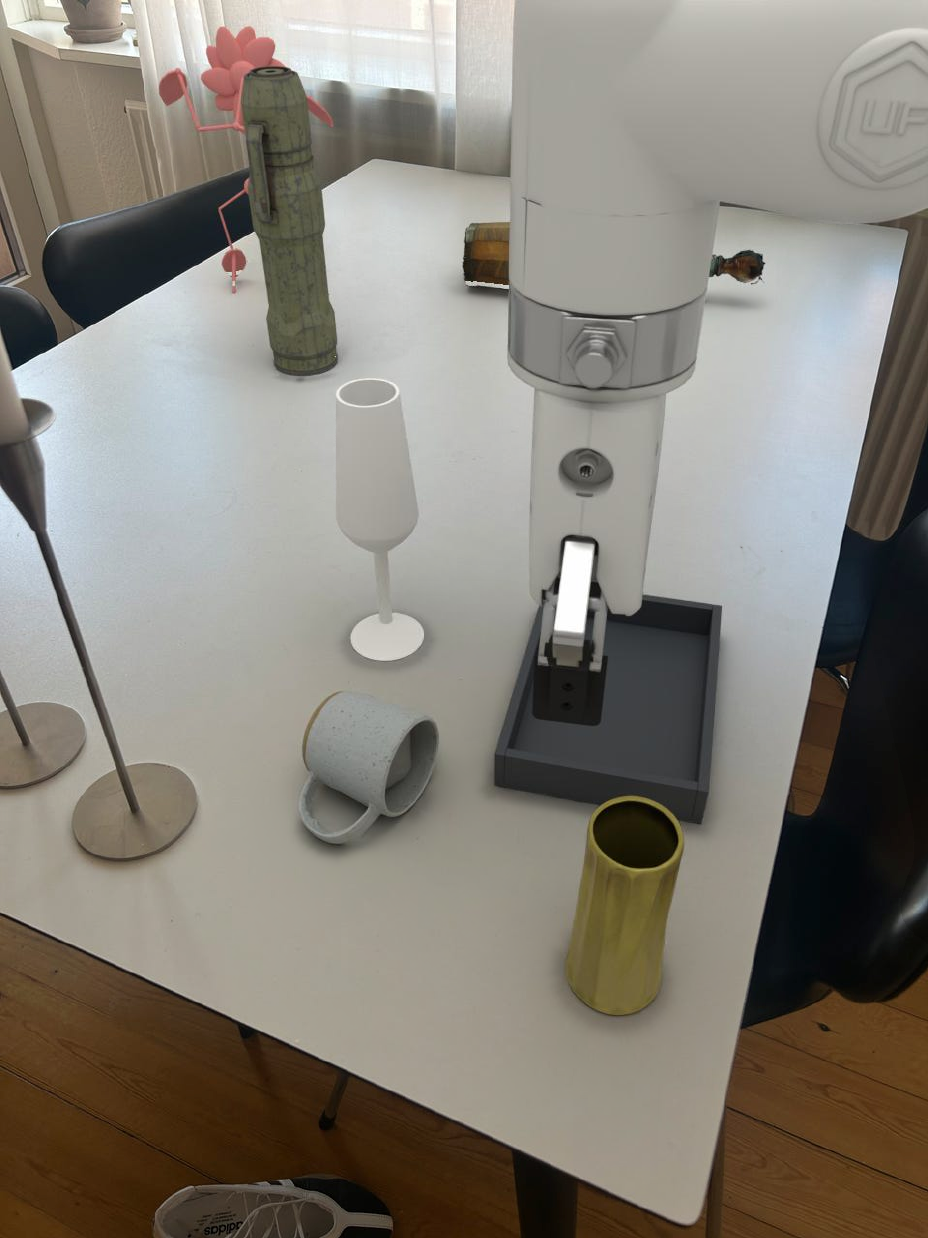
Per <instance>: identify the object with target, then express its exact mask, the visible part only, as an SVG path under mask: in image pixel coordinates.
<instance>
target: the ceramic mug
mask: <svg viewBox="0 0 928 1238" xmlns="http://www.w3.org/2000/svg"><path fill="white" fill-rule="evenodd" d="M439 740H440V734H439V728H438V725H437V723H436V721H435V720H434V719H433V718H432V717H431V716H430V715H428V714H424V713H421V712H418V711H415V710H411V709H409V708H406V707H404V706H400V705H398V704H395V703H392V702H389V701H386V700H383V699H379V698H377V697H375V696H371V695H368V694H366V693H362V692H358V691H352V690H339V691H336V692H333V693H331V694H330V695H329V696H327V697H326V698H324V700H322V702H320V704H319V705H318V706H317V707H316V708H315V710H314V711H313V713H312V715H311V717H310V719H309V721H308V722H307V724H306V728H305V729H304V733H303V737H302V745H301V755H302V761H303V764H304V766H305V769H306V770H307V771H308V773H309V774H310V775H309V776H308V778H307V779H306V781H305V782H304V784H303V787H302V789H301V791H300V795H299V798H298V799H299V800H298V811H299V816H300V819H301V821H302V823H303V825H304V827H306V829H308V831H310V832H311V833H312V834H313V835H314V836H315V837H317V838H318V839H320V840H322V841H323V842H326V843H329V844H334V845H335V844H337V845H338V844H341V845H342V844H344V843H349V842H351V841H354V840H356V839H357V838H359V837H360V836H362V835H363V834H364V833H365V832H366V831H367V829H369V828H370V827H371V826H372V825H373V824H374V822H375V821H376V820H377V819H378V817H379V816H380V815H384V816H387V817H390V818H396V817H399V816H401V815H403V814H405V813H407V811H409V809H410V808H411V807H412V806H413V805H415V803H416V802H417V801H418V799H419V798H420V797H421V795H422V794H423V792H424V790H425V788H426V787H427V785H428V783H429V781H430V778H431V777H432V774H433V772H434V769H435V766H436V762H437V759H438V758H437V757H438V752H439V744H440V741H439ZM320 784H324V785H325V786H327V787H329V788H331V789H333V790H336V791H339V792H341V793H342V794H344V795H346V796H348V797H350V798H352V799H353V800H355V801H356V802H358V803H361V804H362V805H364V806H365V807H368V808H367V809H366V811H365V812H364V813H363V814H362V815H361V816H359V818H358V819H357V820H356V821H355V822H354V823H353V824H351V825H350V826H348V827H346V828H344V829H342V830H338V831H335V832H330V831H328V830H327V829H325V828H324V827H323V826H322V825H321V824H320V823H319V821H318V819H317V818H314V817H312V816H311V815H312V814H311V805H312V803H313V798H314V796H315V793H316V792H317V789H318V788H319V785H320Z"/></svg>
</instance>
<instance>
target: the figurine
mask: <svg viewBox="0 0 928 1238" xmlns="http://www.w3.org/2000/svg"><path fill="white" fill-rule="evenodd" d="M275 50H276V43H275V41H274V39H272V38H270V37H268V36H260V37H257V36H256V31H255V28H253V27H252V26H251V25H249V26H244V27H243V28H242V29H241V30H239V32H238V33H237V35H236V36H234V35H233V34H232V33H231V31H230V30H229V29H228V28H227V27H226V26H219V27H218V29H217V31H216V35H215V45H214V46H213V45H209V44H208V45H207V47H206V48H205V55H206V58H207V61H208V64H209V65H210V67H211V68H210V69H207V70H205V71H203V72H202V73H201V75H200V80H201V82H202V84H203V85H204V86H205V87H206V88H207V89H208V90H210V91H211V92H213V93H215V94H216V96H215V98H214V99H215V100H214V101H215V106H216V108H217V109H218V110H220V112H221V111H222V112H232V115H233V119H234V122H233V123H229V124H220V125H212V126H200V123H199V120H198V117H197V114H196V112H195V110H194V106H193V103H192V101H191V98H190V96H189V92H188V90H187V89H188V81H187V77H186V76H187V75H186V74H185V73H184V72H183V71H182V69H181V68H180V67H176V68H175V69H173V70H170V71H167V73H165V74H164V76H163V77H161V78H160V81H159V83H158V93H159V96H160V98H161V100H162V102H163V103H164V105H165V106H166V107H168V106H170V105H172V104H175V103H176V102H177V101H178V100H180V99H182V97H183V96H184V98H185V101H186V103H187V107H188V109H189V112H190V114H191V118H192V120H193V122H194V126H195V128H196V129H197V130H198V131H197V132H198V133H200V132H209V131H218V130H228V129H233V130H234V131H235V132H238V131H239V132H240V133H241V134H243V135H245V130H244V123H243V116H242V109H241V93H242V86H243V80H244V75H245V74H247V73H249V72H250V70H252V69H255V68H259V67H267V66H282V67H287V66H286V65H285V64H284V63H283V62H282V61H280V60H278V59H276V58H274V54H275ZM306 96H307V101H308V110H309V113H312V115H313V116H315V117H316V118H318V119H319V120H320V121H322V122H323V123H324V124H326V125H328V126H329V127H330V128H334V127H335V124H334V121H333V118H332V117H331V115H330V114H329V112H328V111H327V109H325V108H324V107H323V106H322V105H321V104H320V103H319V102H317V101H316V100H315V99H314V98H313V97H311V96H310V95H308V94H307V93H306ZM248 181H249V177H248V178H247V179H246V180H245V181H244V184H243V190H241V191H240V192H238V193H237V194H236V195H234V196H233V197H231V198H230V199H228V200H227V201H226V202H225V203H223V204H222V205H221V206H219V207H218V213H219V216H220V220H221V223H222V226H223V229H224V232H225V235H226V238H227V241H228V244H229V246H230V249H228V250H227V251H225V253H224V255H223V257H222V259H221V266H222V268H223V270H224V272H225V273H226V272H232V276H230V277H231V282H232V281H235V280H237V279H236V278H237V277H238V276H239V275H236V271H239V270H242V271H244V269H245V267H246V265H247V263H246V262H247V258H246V255H245V254H244V252H243V251H242V249H239V248H237V247H235V248H234V247H233V243H232V240H231V236H230V233H229V231H228V228H227V225H226V222H225V219H224V215H223V213H222V209H224V208H225V207H227V206H228V205H229V204H231V203H233V201H235V200H237V198H239V197H240V196H242V195H243V194H247V195H248V196H249V194H248ZM231 292H232V293H236V285H235V286H232V285H231Z"/></svg>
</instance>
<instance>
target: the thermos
mask: <svg viewBox="0 0 928 1238" xmlns="http://www.w3.org/2000/svg"><path fill="white" fill-rule="evenodd" d="M306 94H307V93H306V91H305V88H304V85H303V83H302V81H301V78H300V75H299V73H298V72H297V71H295V70H293V69H292V68H290V67H288V66H286V67H282V66H267V67H259V68H255V69H252V70H250V72H249V73H247V74H245V75H244V80H243V86H242V93H241V109H242V116H243V123H244V126H243V127H244V130H245V134H244V136H245V137H244V138H245V144H246V151H247V158H248V165H249V176H248V178H249V181H248V194H249V195H248V194H247V195H248V200H249V206H250V207H249V208H250V214H251V220H252V228H253V231H254V233H255V235H256V236H257V238H258V241H259V248H260V255H261V260H262V261H261V263H262V269H263V277H264V283H265V290H266V298H267V305H268V307H267V313H266V317H265V320H266V325H267V334H268V339H269V340H268V341H269V346H270V349H271V350H272V355H273V365H274V367H275V369H276V370H277V371H279V372H281V373H282V374H285V375H289V376H296V377H297V376H298V377H305V376H314V375H320V374H323V373H325V372H328V371H330V370H332V369H333V368H335V366H336V365H337V364H338V363H339V355H338V352H337V351H338V349H337V345H338V332H337V323H336V314H335V313H336V312H335V309H334V307H333V306H332V304H331V301H330V293H329V286H328V276H327V265H326V256H325V246H324V237H323V236H324V232H325V228H326V218H325V210H324V209H325V208H324V197H323V189H322V181H321V179H320V176H319V174H318V171H317V169H316V167H315V158H314V155H313V150H312V143H313V140H312V130H311V123H310V111H309V110H308V101H307V96H306ZM335 356H336V357H335Z"/></svg>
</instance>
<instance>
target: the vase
mask: <svg viewBox="0 0 928 1238" xmlns="http://www.w3.org/2000/svg"><path fill="white" fill-rule="evenodd" d="M684 850H685V837H684V832H683V829H682V826H681V824H680V822H679V820H678V819H676V818H675V816H674V815H673V814H672V813H671V812H670V811H669V810H668V809H667V808H665V807H664V806H663V805H661V804H659V803H657V802H655V801H653V800H650V799H647V798H644V797H639V796H623V797H618V798H614V799H611V800H609V801H607V802H605V803H604V804H602V805H598V807H597V808H596V809H595V810H594V811H593V813H592V814H591V816H590V818H589V820H588V824H587V830H586V840H585V850H584V857H583V864H582V871H581V876H580V882H579V887H578V896H577V902H576V906H575V912H574V919H573V922H572V923H573V924H572V930H571V936H570V943H569V947H568V950H567V953H566V957H565V966H564V967H565V975H566V978H567V982H568V983H569V986H570V988H571V989H572V992H574V994H575V995H576V996H577V997H578V998H579V999H580V1000H581V1001H582V1002H583V1003H584V1004H586V1005H587V1006H589V1007H590V1008H592V1009H593V1010H595V1011H598V1012H600V1013H603V1014H607V1015H611V1016H624V1015H630V1014H634V1013H637V1012H639V1011H641V1010H642V1009H644V1008H646V1007H647V1006H648V1005H649V1004H650V1003H652V1002H653V1001H654V999H655V998H656V997H657V995H658V993H659V991H660V989H661V986H662V981H663V967H664V966H663V964H664V955H665V954H664V953H665V943H666V932H667V922H668V918H669V914H670V911H671V906H672V903H673V898H674V893H675V891H676V890H675V889H676V886H677V885H676V884H677V880H678V876H679V871H680V866H681V861H682V857H683V856H684V855H683V854H684Z"/></svg>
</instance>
